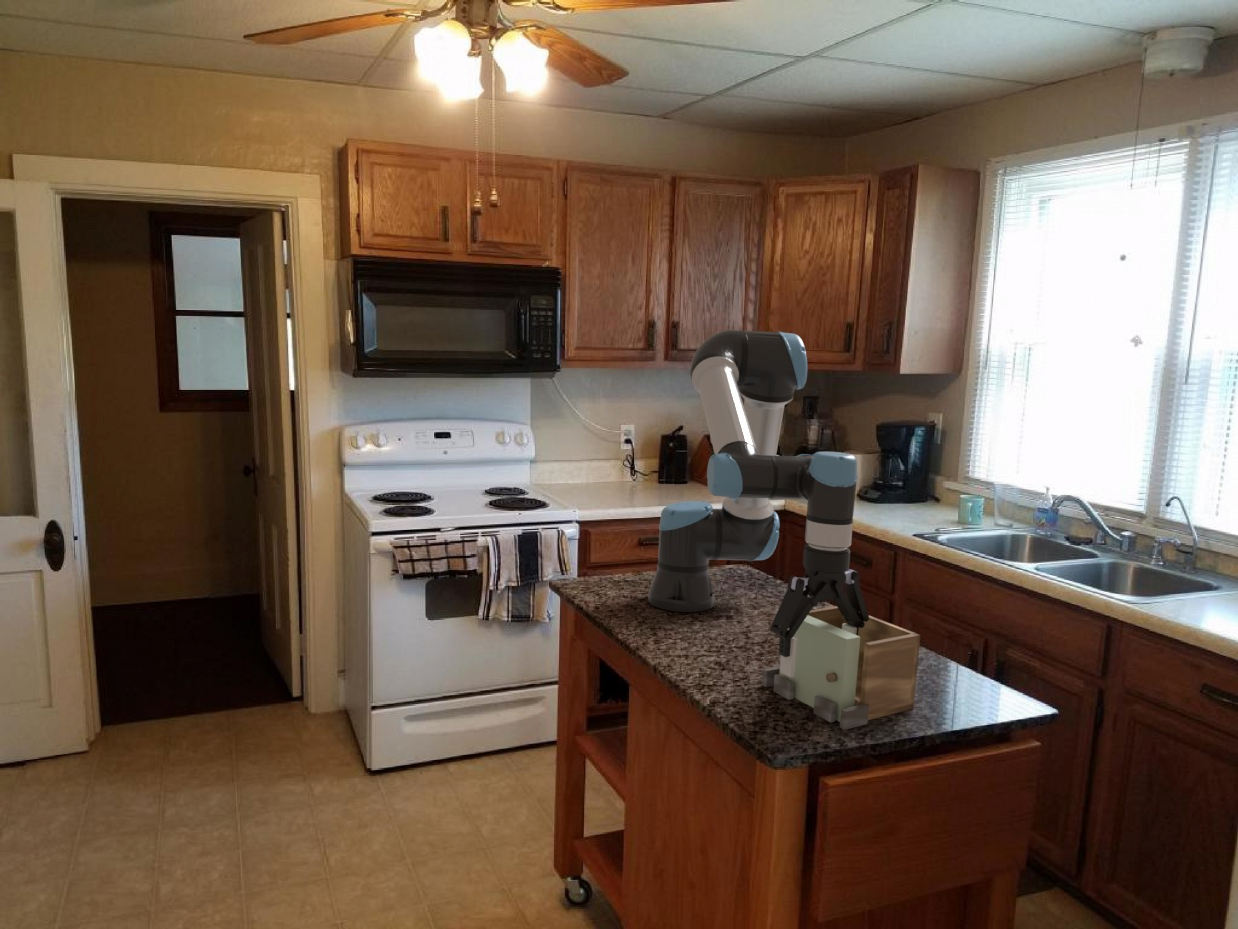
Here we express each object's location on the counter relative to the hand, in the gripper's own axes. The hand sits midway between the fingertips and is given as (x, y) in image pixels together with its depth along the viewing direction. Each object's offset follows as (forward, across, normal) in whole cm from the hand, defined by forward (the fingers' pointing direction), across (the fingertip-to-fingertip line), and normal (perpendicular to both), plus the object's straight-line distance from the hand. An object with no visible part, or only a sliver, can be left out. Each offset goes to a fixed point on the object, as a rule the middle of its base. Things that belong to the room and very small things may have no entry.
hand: (817, 668), depth 151 cm
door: (+6, 0, 0) cm, 6 cm away
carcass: (+6, -6, 0) cm, 8 cm away
